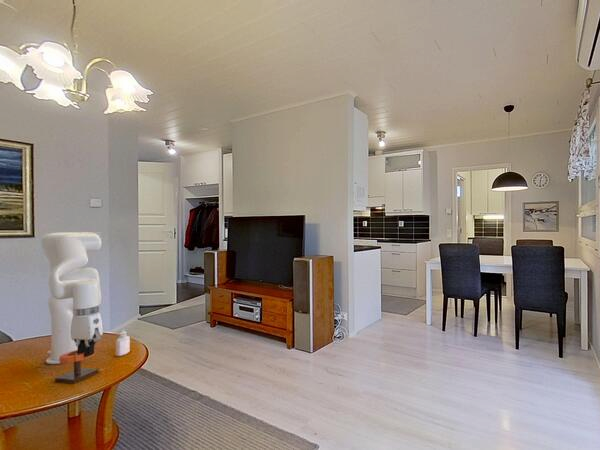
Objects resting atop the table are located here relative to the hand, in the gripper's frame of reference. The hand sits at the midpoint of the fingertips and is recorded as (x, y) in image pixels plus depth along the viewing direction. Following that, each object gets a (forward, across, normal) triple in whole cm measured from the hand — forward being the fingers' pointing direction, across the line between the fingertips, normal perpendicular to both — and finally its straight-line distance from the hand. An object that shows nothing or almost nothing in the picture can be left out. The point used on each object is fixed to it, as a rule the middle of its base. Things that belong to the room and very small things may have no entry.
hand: (85, 354), depth 127 cm
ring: (+2, +4, 0) cm, 4 cm away
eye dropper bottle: (+10, +8, -22) cm, 25 cm away
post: (+10, +4, 0) cm, 10 cm away
